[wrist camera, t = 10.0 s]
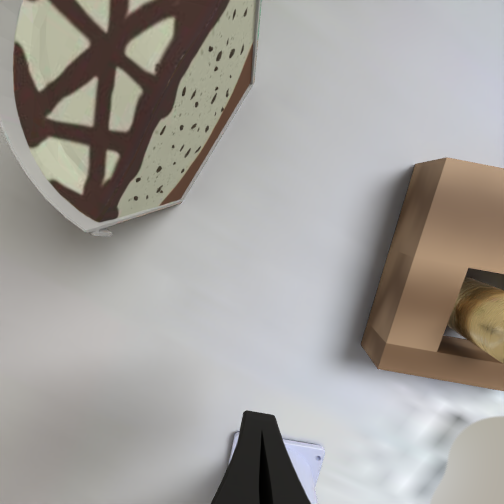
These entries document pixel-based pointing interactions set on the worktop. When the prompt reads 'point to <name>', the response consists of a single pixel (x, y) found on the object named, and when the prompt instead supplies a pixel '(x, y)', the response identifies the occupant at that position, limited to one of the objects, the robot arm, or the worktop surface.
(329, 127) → the worktop surface
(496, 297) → the gold rounded cylinder
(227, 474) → the robot arm
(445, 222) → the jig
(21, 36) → the food container
